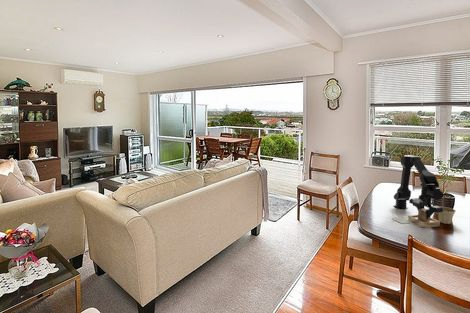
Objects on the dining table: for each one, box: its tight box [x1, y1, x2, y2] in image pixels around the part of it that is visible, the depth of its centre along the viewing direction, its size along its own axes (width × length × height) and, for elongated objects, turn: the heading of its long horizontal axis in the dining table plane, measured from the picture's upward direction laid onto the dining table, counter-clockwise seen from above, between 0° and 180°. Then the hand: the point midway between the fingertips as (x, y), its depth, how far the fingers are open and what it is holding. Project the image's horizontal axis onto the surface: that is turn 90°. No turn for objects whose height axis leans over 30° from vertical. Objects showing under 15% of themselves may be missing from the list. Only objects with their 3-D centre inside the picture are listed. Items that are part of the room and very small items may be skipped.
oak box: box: [407, 214, 441, 229], centre depth 168 cm, size 12×11×3 cm
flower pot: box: [437, 206, 456, 225], centre depth 168 cm, size 9×9×9 cm
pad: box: [392, 217, 414, 225], centre depth 172 cm, size 8×8×1 cm
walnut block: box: [417, 207, 431, 222], centre depth 167 cm, size 4×4×7 cm
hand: (423, 217), depth 167 cm, fingers closed on walnut block, 4 cm apart
